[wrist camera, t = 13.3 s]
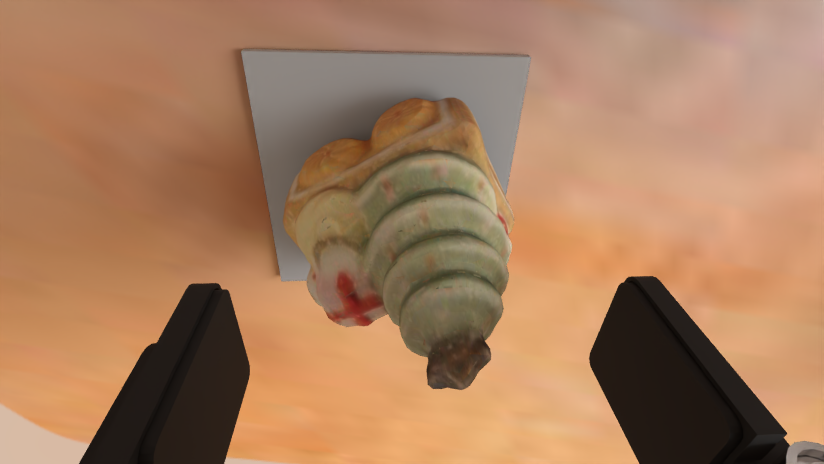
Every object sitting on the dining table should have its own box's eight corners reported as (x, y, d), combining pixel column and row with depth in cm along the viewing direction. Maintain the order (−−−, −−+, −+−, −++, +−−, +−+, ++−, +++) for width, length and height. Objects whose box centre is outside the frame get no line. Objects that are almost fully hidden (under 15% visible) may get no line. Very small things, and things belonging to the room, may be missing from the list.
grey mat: (527, 55, 15) (531, 57, 15) (489, 269, 21) (491, 274, 20) (243, 48, 14) (241, 51, 14) (282, 275, 20) (281, 281, 20)
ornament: (358, 273, 20) (352, 507, 11) (267, 174, 16) (168, 399, 8) (511, 189, 18) (636, 393, 10) (442, 60, 15) (541, 200, 6)
